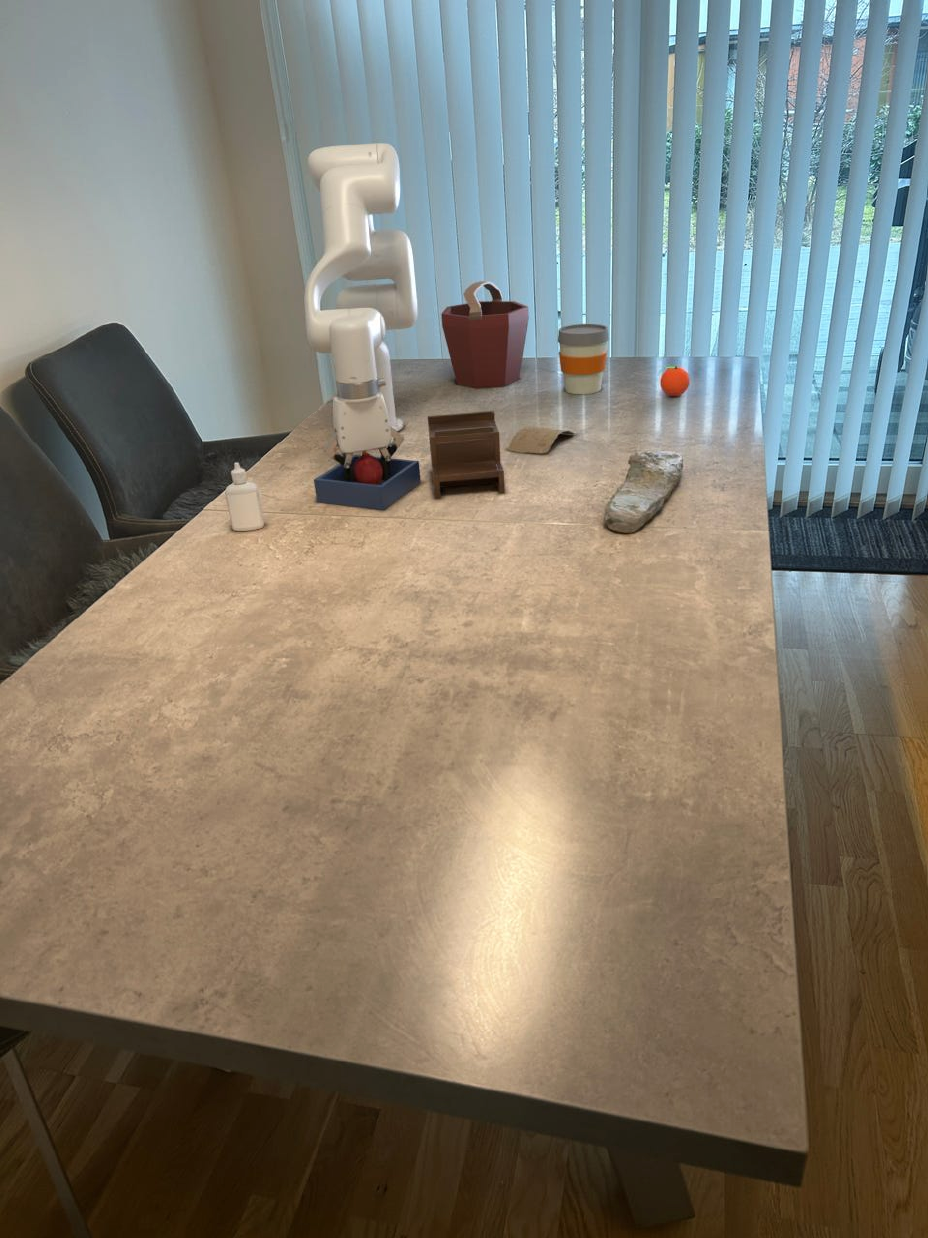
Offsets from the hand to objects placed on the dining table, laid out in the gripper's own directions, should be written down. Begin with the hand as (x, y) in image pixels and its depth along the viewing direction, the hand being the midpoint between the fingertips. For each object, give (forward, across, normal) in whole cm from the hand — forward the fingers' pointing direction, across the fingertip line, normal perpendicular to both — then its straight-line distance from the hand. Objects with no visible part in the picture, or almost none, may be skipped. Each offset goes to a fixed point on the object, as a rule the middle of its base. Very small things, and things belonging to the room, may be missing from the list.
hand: (368, 481), depth 170 cm
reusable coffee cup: (+3, -68, -44) cm, 81 cm away
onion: (+2, 0, 0) cm, 2 cm away
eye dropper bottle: (+2, +24, +7) cm, 25 cm away
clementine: (+3, -83, -27) cm, 88 cm away
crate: (+2, 0, 0) cm, 2 cm away
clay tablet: (+3, -41, -10) cm, 42 cm away
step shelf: (+2, -18, +5) cm, 19 cm away
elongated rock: (+2, -44, +28) cm, 52 cm away
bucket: (+3, -50, -67) cm, 84 cm away
